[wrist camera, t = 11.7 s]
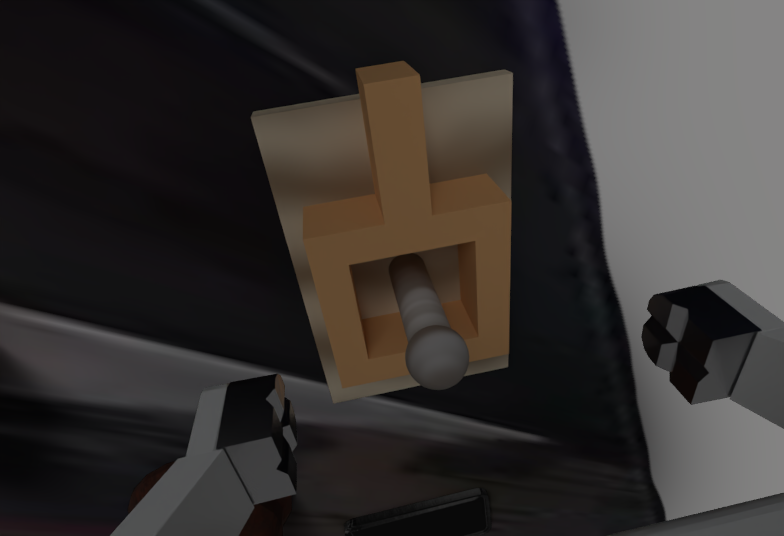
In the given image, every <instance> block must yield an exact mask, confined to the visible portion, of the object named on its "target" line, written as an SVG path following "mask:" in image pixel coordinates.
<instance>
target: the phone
mask: <svg viewBox="0 0 784 536" xmlns="http://www.w3.org/2000/svg"><path fill="white" fill-rule="evenodd" d="M344 527H345V536H478V535H482V534H485V533H487V532H488V531H489V530H490V529H491V517H490V506H489V498H488V495H487V492H486V490H485V489H483V488H475V489H471V490H467V491H463V492H459V493H455V494H451V495H447V496H443V497H439V498H435V499H431V500H426V501H422V502H418V503H414V504H410V505H406V506H402V507H398V508H394V509H390V510H386V511H382V512H378V513H374V514H370V515H366V516H362V517H358V518H354V519H351V520H349V521H347V522H346V523H345V525H344Z"/></svg>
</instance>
